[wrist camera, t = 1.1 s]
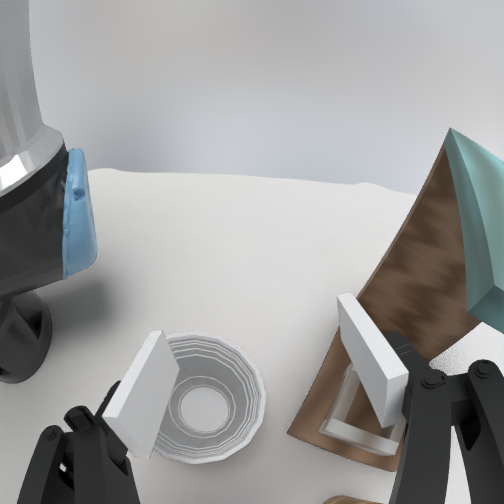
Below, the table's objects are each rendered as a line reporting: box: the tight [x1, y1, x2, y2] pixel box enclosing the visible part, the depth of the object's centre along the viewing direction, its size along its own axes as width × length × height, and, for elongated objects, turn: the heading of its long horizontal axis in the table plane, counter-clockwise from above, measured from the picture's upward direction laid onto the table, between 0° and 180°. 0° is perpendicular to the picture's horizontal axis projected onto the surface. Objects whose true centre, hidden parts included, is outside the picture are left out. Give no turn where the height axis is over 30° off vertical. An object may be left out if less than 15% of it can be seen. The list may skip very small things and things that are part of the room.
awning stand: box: [287, 128, 504, 472], centre depth 19 cm, size 15×18×28 cm
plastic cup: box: [153, 331, 266, 464], centre depth 23 cm, size 11×11×12 cm
